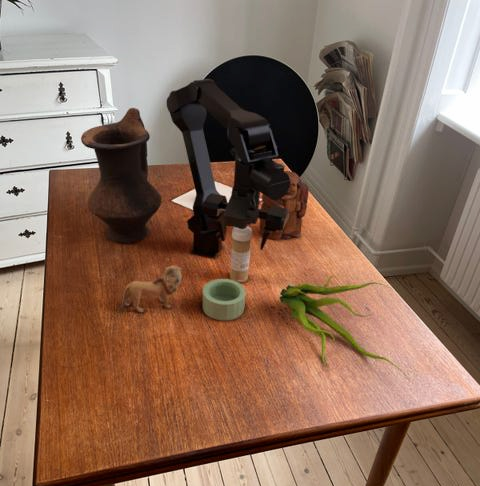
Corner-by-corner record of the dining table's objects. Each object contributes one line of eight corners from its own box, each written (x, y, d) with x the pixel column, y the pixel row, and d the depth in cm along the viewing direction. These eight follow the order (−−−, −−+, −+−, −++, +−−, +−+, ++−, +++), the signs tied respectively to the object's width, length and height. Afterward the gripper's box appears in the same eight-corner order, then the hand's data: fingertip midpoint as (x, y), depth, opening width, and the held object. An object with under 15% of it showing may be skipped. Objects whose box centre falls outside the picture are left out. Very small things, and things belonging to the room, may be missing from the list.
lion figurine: (177, 291, 115) (177, 258, 110) (186, 304, 112) (186, 271, 106) (115, 305, 110) (111, 272, 104) (121, 320, 106) (117, 286, 101)
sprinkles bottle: (244, 271, 124) (249, 223, 115) (250, 282, 120) (255, 233, 112) (227, 273, 122) (230, 225, 114) (232, 284, 119) (235, 235, 111)
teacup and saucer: (207, 191, 156) (207, 179, 153) (227, 199, 153) (228, 187, 150) (189, 201, 150) (189, 188, 148) (209, 209, 147) (210, 197, 145)
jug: (145, 259, 125) (137, 139, 106) (79, 244, 128) (59, 126, 109) (176, 221, 141) (174, 111, 122) (116, 208, 144) (105, 100, 125)
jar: (196, 314, 110) (196, 298, 107) (211, 290, 117) (211, 274, 114) (236, 324, 108) (237, 308, 105) (249, 300, 115) (250, 284, 112)
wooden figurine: (262, 241, 135) (269, 178, 124) (257, 229, 140) (263, 167, 129) (304, 239, 138) (314, 177, 126) (297, 227, 142) (307, 167, 131)
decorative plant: (320, 398, 93) (334, 341, 84) (275, 301, 115) (283, 247, 105) (406, 386, 97) (430, 329, 87) (348, 294, 119) (361, 241, 109)
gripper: (191, 187, 101) (191, 253, 111) (281, 205, 97) (272, 272, 107) (211, 167, 109) (209, 230, 119) (293, 183, 105) (284, 246, 115)
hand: (242, 244), depth 115 cm, fingers open, 9 cm apart
